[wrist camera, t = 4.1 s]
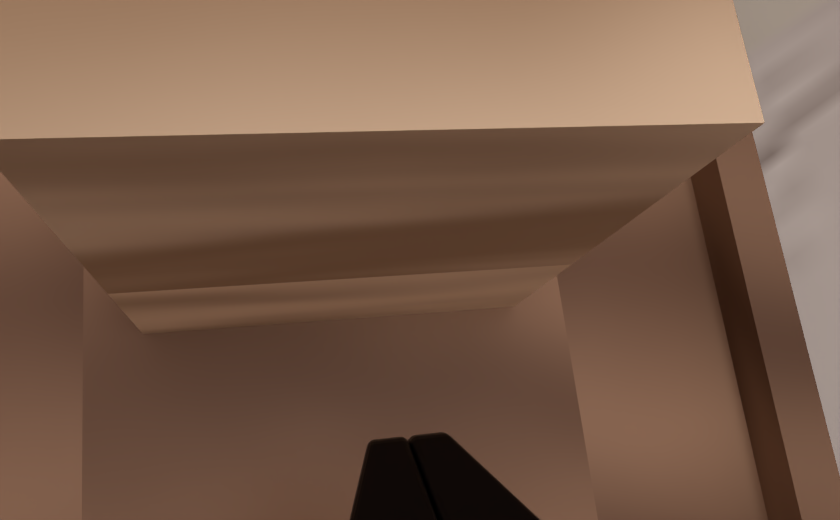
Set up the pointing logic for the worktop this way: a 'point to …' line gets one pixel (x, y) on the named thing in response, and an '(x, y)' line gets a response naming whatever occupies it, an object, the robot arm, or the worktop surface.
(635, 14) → the step block
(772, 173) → the worktop surface
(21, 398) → the brown wooden tray
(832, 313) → the worktop surface
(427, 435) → the robot arm
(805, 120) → the worktop surface
